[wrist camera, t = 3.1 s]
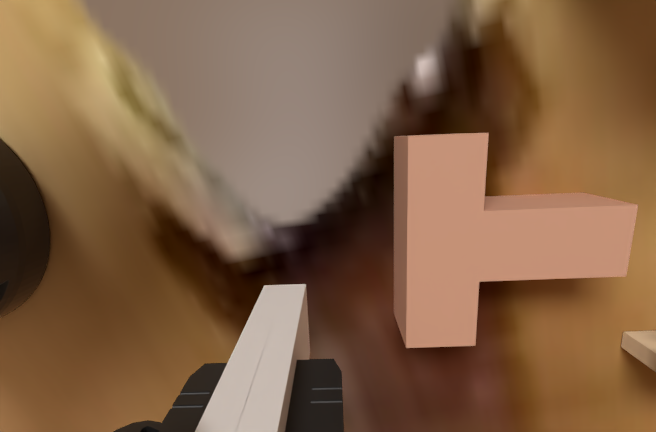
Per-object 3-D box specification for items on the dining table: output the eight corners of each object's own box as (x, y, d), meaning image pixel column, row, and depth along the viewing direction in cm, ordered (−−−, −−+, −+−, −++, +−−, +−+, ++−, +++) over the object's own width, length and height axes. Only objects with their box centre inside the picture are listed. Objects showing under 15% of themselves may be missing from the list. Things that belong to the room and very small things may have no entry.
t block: (393, 313, 24) (406, 347, 20) (393, 136, 21) (408, 136, 17) (568, 307, 24) (615, 341, 20) (591, 127, 21) (651, 125, 17)
